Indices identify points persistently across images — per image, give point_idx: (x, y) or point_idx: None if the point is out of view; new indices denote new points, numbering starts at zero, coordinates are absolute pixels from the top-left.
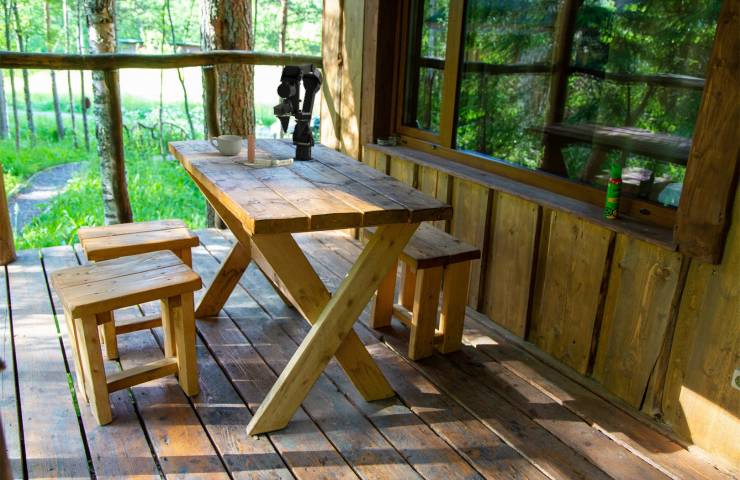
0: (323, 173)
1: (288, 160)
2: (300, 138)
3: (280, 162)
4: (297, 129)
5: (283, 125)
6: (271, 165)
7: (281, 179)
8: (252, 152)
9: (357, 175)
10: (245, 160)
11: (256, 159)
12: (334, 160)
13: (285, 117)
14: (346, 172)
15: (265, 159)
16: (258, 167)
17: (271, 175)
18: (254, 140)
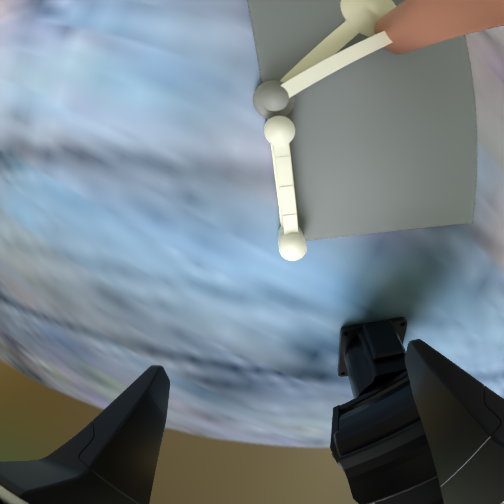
0: (71, 273)
1: (283, 223)
2: (377, 411)
3: (275, 157)
4: (116, 416)
5: (454, 399)
6: (264, 86)
7: (21, 56)
8: (401, 11)
9: (50, 347)
10: (459, 60)
11: (369, 38)
12: (292, 418)
13: (481, 501)
14: (87, 350)
15: (448, 170)
16: (261, 6)
17: (85, 26)
18: (455, 5)
